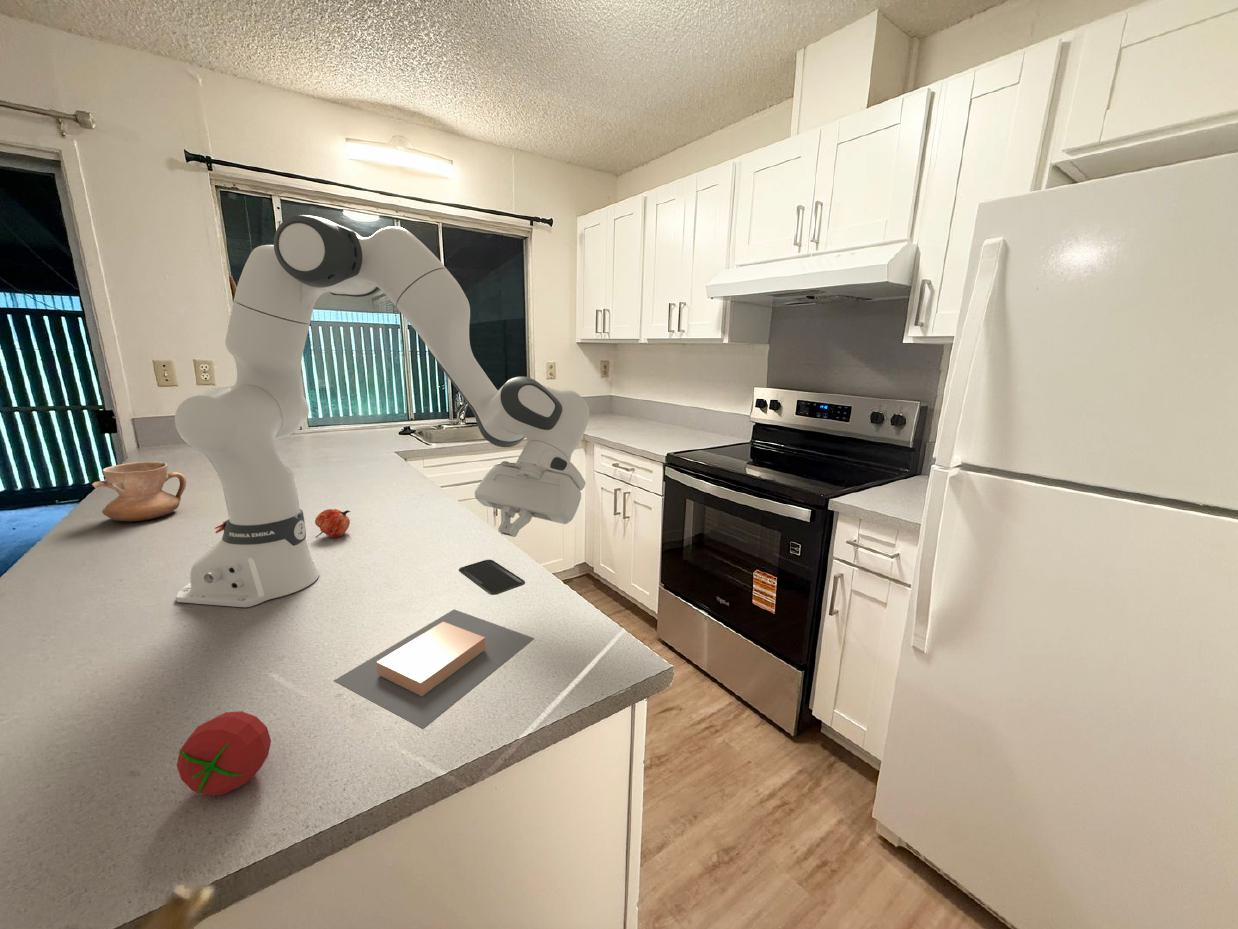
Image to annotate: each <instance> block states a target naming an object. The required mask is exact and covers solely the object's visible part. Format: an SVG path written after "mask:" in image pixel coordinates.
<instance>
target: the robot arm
mask: <svg viewBox="0 0 1238 929" xmlns="http://www.w3.org/2000/svg"><path fill="white" fill-rule="evenodd" d="M236 286H237V287H236V289H235V293H234V297H233V301H232V308H231V311H230V317H229V322H228V325H227V332H226V335H225V339H224V342H225V343H224V344H225V347H226V349H227V351H228V352H229V353H230V355H231V356H233V358H234V361H235V367H236V382H235V383H234V385H230V386H223V387H221V386H220V387H213V388H212V387H211V388H209V389H206V390H203V391H200V392H199V393H196V394H194V395H191V396H190V397H188V398H186V399H184V400H183V401H182V402H181V403H180V404H179V405H178V406H177V409H176V411H175V414H174V424H175V428H176V431H177V433H178V434H179V437H180V438H181V439H182V440H183V441H184V442H185V443H186V444H187V445H188V446H190V447H192V448H193V449H195V450H197V451H199V452H201V453H202V454H203V455H204V456H205V457H206V458H207V460H208V461H209V463H210V464H211V465H212V467H213V469H214V470H215V472H216V474H217V476H218V479H219V480H220V481H219V482H220V483H221V487H222V490H223V494H224V500H225V505H226V511H227V514H228V519H227V520H225V521H223V522H222V524H220V525H217V526H216V527H214V530H216V531H215V532H214V533H215V534H218V533H220V532H222V531H223V534H222V538H221V540H220V541H219V542H217V543H216V544H215V545H213V546H212V547H211V548H210V549H208V550H207V551H205V553H203V554H202V555H201V556H199V558H197V559H196V560H195V561H194V562H193V564H192V566H191V570H190V577H189V579H190V582H188V583H186V585H184V586H183V587H182V588H181V589H180V590H179V591H177V593H176V596H175V597H176V598H175V600H176V602H177V603H184V604H185V603H186V604H197V605H209V606H210V605H211V606H221V607H222V606H223V607H224V606H225V607H235V608H236V607H237V608H249V607H253V606H256V605H258V604H261V603H264V602H266V601H269V600H272V599H276V598H280V597H285V596H287V595H290V594H293V593H296V592H299V591H300V590H303V589H305V588H307V587H309V586H310V585H312V584H313V583H315V582H316V581H317V579H318V578H319V575H320V572H319V570H318V569H317V567H316V565H315V562H314V561H313V558H312V555H311V553H310V550H309V547H308V543H307V530H306V523H305V517H304V512H303V510H302V509H301V507H300V499H299V492H298V486H297V485H298V484H297V480H296V479H297V478H296V475H295V472H294V471H293V469H291V468H290V467H288V466H287V465H285V464H284V463H283V462H282V460H281V458H280V456H279V455H278V452H277V450H276V447H275V443H274V441H276V440H279V439H283V438H286V437H288V436H290V435H292V434H293V433H295V432H296V431H298V430H299V429H300V428H301V427H302V426H303V425H304V424H305V423H306V422H307V420H308V418H309V412H310V411H309V410H310V409H309V403H308V402H307V399H306V398H305V396H304V395H303V393H302V392H303V391H302V379H301V378H302V376H301V374H302V373H301V372H302V371H301V369H302V361H303V360H302V358H303V355H304V351H305V346H306V342H307V338H308V332H309V329H310V324H311V319H312V316H313V311H314V307H315V305H316V302H317V300H318V298H320V297H321V296H322V295H324V294H327V293H329V294H331V295H333V296H343V297H354V298H361V297H368V296H372V295H375V294H377V293H378V292H380V291H382V292H383V294H384V295H385V296H386V297H387V298H388V299H389V301H390V302H392V304H393V305H394V306H395V308H396V309H397V310H398V311H399V313H401V314H402V316H403V317H404V318H405V320H407V322H408V323H409V324H410V326H411V327H412V329H414V331H415V332H416V334H417V335H419V337H420V339H421V340H422V341H423V343H424V344H425V346H426V347H427V348H428V350H429V351H430V354H432V356H433V357H434V359H435V361H436V362H437V364H438V366H439V367H440V368H441V370H442V371H443V372H444V374H445V375H446V376H447V378H448V379H449V380H450V382H451V383H452V385H453V386H454V387H455V389H456V390H457V391H458V393H459V394H460V395H461V397H462V398H463V400H464V401H465V403H467V405H468V407H469V408H470V409H471V412H472V414H473V416H474V418H475V422H476V425H477V428H478V429H479V433H480V434H481V435H482V436H483V438H484V439H485V440H486V441H487V442H488V443H489V444H492V445H494V446H496V447H499V448H512V447H515V446H517V445H520V444H521V442H522V441H523V440H524V439H525V438H526V440H527V442H526V444H525V445H524V447H523V449H522V451H521V453H520V454H519V456H518V458H517V460H516V462H509V461H505V460H504V461H501V462H499V463H497V464H494V465H493V466H492V468H491V469H489V471H488V472H487V473H486V474H485V476H484V477H483V478H482V480H481V481H480V482H479V484H478V485H477V487H476V488H475V490H474V498H475V499H476V501H478V503H479V504H481V505H482V506H484V507H488V508H493V509H496V510H501V522H500V525H499V526H498V528H497V530H498V531H497V532H499V533H500V534H501V535H505V536H509V537H512V538H516V537H517V536H518V534H519V532H520V530H521V529H523V528H524V527H525V526H526V525H528V524H529V523H530V522H531V520H532V519H533V518H536V519H540V520H544V521H550V522H554V523H558V524H562V525H567V524H569V523H570V522H572V521H573V519H574V518H575V515H576V514H577V511H578V508H579V505H580V503H581V499H582V492H581V491H582V490H584V489H585V487H586V484H587V483H586V481H585V479H584V477H583V475H582V473H581V472H580V471H579V470H578V468H577V467H576V466H575V465H574V463H572V462H571V460H572V455H573V453H574V452H575V451H576V450H577V449H578V447H579V446H580V444H581V442H582V439H583V436H584V435H585V432H586V429H587V427H588V425H589V420H590V408H589V405H588V403H587V401H586V400H585V399H584V398H583V397H582V396H581V395H580V394H579V393H577V392H576V391H574V390H572V389H566V388H563V389H562V388H561V389H555V388H552V387H549V386H546V385H543V384H541V383H540V382H539V381H537V380H536V379H533V378H531V377H527V376H516V377H512V378H510V379H508V380H507V381H506V382H505V383H504V384H503V385H502V386H501V387H500V388H499V389H497V388H496V387H495V385H494V384H493V382H492V381H491V379H490V378H489V377H488V375H487V374H486V372H485V371H484V370H483V369H484V368H482V367H481V365H480V363H479V362H478V361H477V359H476V358H475V356H474V353H473V351H472V347H471V341H470V340H471V339H470V325H471V324H470V322H471V306H470V305H471V304H470V303H469V300H468V297H467V296H466V294H465V292H464V290H463V289H462V287H461V285H460V284H459V282H458V280H457V279H456V278H455V277H454V275H453V274H451V272H450V271H449V269H448V268H446V266H444V264H443V263H442V261H440V259H439V258H438V257H437V256H436V255H435V254H434V253H433V252H432V251H431V250H430V249H429V248H428V246H427V245H425V244H424V243H423V242H422V241H421V240H419V239H418V237H416V236H415V235H414V234H413V233H412V232H410V231H409V230H408V229H406V228H403V227H401V226H395V225H394V226H386V227H384V228H381V229H379V230H377V231H376V232H374V233H373V234H372V235H371V236H368V237H364V236H362V235H360V234H359V233H357V232H356V231H354V230H352V229H351V228H349V227H345V226H343V225H340V224H338V223H336V222H333V221H331V220H329V219H326V218H323V217H319V216H314V215H308V214H306V215H305V214H302V215H301V214H300V215H294V216H290V217H287V218H286V219H285V220H283V221H282V222H281V223H280V224H279V225H278V226H277V228H276V229H275V233H274V237H273V244H265V245H264V244H263V245H260V246H259V245H258V246H257V247H255V248H254V249H253V250H252V251H251V252H250V254H249V256H248V258H247V259H246V262H245V265H244V266H243V269H242V272H241V274H240V277H239V280H238V282H237V285H236ZM516 514H517V515H518V516H519V517H517V518H516V519H515V520H514V521H513V522H511V520H512V519H511V518H515V515H516Z"/></svg>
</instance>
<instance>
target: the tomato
mask: <svg viewBox="0 0 1238 929" xmlns="http://www.w3.org/2000/svg"><path fill="white" fill-rule="evenodd" d="M271 744H272V739H271V736H270V733H269V730H268V726H267V725H265V723H263V721H262V720H260V719H259V717H258V716H256V715H253V714H250V713H247V712H245V711H227V712H226V711H225V712H224V713H222V714H219V715H217V716H216V717H213V718H212V719H210V720H207V721H206V722H205V721H204V723H202V724H200V725H198V726H197V727H196V728H195V729H194V730H193V732H192V733H191V734H190V736H188V738H187V739H186V740H185V741H184V744H183V745H182V746H181V747H180V750H179V753H178V758H177V763H176V767H177V770H178V774H179V778H180V780H181V781H182V782H183V783H184V784H185V785H186V786H187V787H188V788H189V789H190V790H191V791H192V792H195V793H198V794H202V795H205V796H207V797H208V796H209V797H210V796H220V795H221V796H222V795H226V794H228V793H230V792H232V791H233V790H235V789H238V788H239V787H241V786H242V785H245V784H246V783H248V782H250V781H251V780H252V779H253V778H254V777H255V775H256V774H257V773H258V772H259V770H260V769H261V768H262V766H263V765H264V763H265V761H266V760H267V759H268V757H269V753H270V749H271Z"/></svg>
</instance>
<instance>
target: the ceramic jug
mask: <svg viewBox="0 0 1238 929" xmlns="http://www.w3.org/2000/svg"><path fill="white" fill-rule="evenodd" d="M102 473H103V476H104V478H105V481H104V480H99V481H94V482H93V483H92V484H91V485H92V487H94V488H95V489H98V488H101V487H104V488H108V489H112V490H114V491H115V492H116V493H117V494H118V496H117V497H116V498H115V499H113V500H111V501H110V502H109V503H107V504H106V506H105V507H104V508H103V509H102V510H101V513H102V514H103V515H104V516H105V517H107V518H109V519H111V520H114V521H118V522H141V521H147V520H152V519H153V520H154V519H157V518H161V517H164V516H166V515H168V514H171V513H173V512H174V511H175V510H177V509H178V507H179V506H180V503H181V500H182V495H183V493H184V491H185V489H186V486H187V480H186V479H187V478H186V477H185V475H184V474H183V473H180V472H175V471H172V472H168V463H167V462H165V461H164V462H163V461H137V462H129V463H122V464H116V465H111V466H108V467H105V468H103V469H102ZM172 478H177V479H178V481H179V487H178V489H177V491H176V494H175V495H174V494H172V493H169V492H167V491H165V490H163V488H164V484H165V483H166V482H167V481H169V480H170V479H172Z"/></svg>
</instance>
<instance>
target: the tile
mask: <svg viewBox="0 0 1238 929" xmlns="http://www.w3.org/2000/svg"><path fill="white" fill-rule="evenodd" d="M485 649H486V646H485V637H482V636H480V635H477V634H475V633H472V632H469V631H467V630H464V629H461V628H459V627H456V626H454V625H451V624H448V623H446V622H442V623H440V624H438V625H437V626H435V627H433V628H432V629H430V630H428V631H427V632H425V633H424V634H422V635H420V636H419V637H417V638H415V639H414V640H412V641H410V642H409V643H407V644H405V645H404V646H402V647H400V648H399V649H397V650H395V651H394V652H392V653H390V654H389V655H387V656H386V657H384V658H382V659H381V660H379V661H377V662H376V663H377V672H378V675H380V676H381V677H383V678H385V679H387V680H390V681H392V682H394V683H396V684H398V685H400V686H402V687H404V688H406V689H408V690H410V691H412V692H414V693H416V694H418V695H420V696H424V695H425V694H426V693H428V692H429V691H430V690H432V689H433V688H435V687H436V686H437V685H439V684H440V683H441V682H443V681H444V680H445V679H447V678H448V677H449V676H451V675H452V674H453V673H455V672H456V671H457V670H459V669H460V668H462V667H463V666H464V665H466V664H467V663H468V662H470V661H471V660H472V659H474V658H475V657H476V656H478V655H479V654H480V653H482V652H483V651H484V650H485Z"/></svg>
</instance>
